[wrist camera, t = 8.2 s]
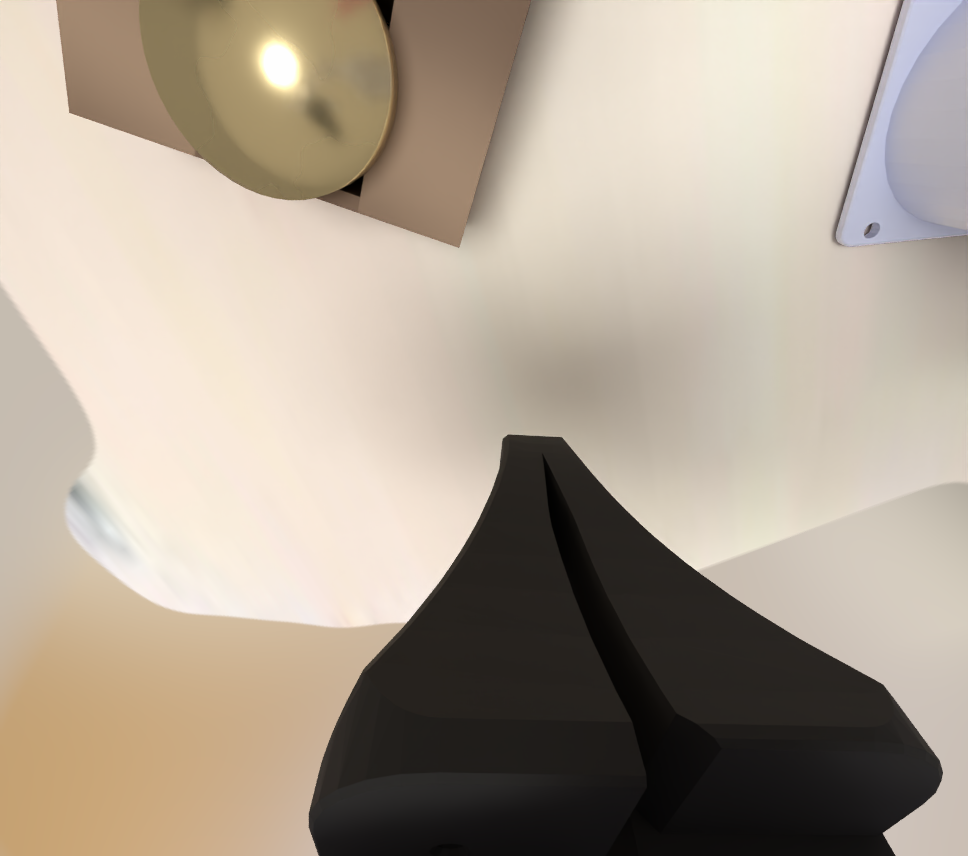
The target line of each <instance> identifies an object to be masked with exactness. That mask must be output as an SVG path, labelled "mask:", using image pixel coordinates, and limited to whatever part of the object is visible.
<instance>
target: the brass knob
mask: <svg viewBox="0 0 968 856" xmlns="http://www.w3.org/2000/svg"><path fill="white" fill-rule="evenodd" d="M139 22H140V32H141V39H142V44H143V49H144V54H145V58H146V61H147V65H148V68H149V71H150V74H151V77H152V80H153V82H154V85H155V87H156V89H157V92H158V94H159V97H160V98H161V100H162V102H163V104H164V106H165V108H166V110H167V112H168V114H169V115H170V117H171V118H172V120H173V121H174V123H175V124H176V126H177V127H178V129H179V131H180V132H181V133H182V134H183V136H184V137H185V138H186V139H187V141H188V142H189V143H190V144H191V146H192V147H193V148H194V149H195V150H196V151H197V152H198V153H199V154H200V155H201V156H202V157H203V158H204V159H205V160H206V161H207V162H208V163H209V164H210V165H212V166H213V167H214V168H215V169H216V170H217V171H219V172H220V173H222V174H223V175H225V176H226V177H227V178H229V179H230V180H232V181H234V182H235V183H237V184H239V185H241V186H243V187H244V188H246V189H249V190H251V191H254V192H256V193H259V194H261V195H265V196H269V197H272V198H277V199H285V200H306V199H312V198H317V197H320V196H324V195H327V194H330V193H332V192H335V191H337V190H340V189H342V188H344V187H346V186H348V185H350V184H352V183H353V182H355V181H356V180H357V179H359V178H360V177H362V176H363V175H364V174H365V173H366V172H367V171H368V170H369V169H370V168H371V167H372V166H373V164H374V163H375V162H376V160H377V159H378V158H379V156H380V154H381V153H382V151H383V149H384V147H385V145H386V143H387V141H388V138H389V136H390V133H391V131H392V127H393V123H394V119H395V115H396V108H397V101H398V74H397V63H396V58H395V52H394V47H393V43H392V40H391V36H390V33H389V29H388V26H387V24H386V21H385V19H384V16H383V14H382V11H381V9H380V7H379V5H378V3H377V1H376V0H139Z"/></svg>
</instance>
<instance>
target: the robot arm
mask: <svg viewBox="0 0 968 856" xmlns="http://www.w3.org/2000/svg"><path fill="white" fill-rule="evenodd" d="M871 223H872V228H871V230H870V232H869V233H867V234H866V235H864V231H865V229H866V227H867V226H868V225H870V224H871ZM962 235H968V0H904V2H903V5H902V8H901V12H900V15H899V19H898V22H897V26H896V29H895V32H894V36H893V39H892V43H891V46H890V50H889V53H888V56H887V60H886V63H885V67H884V70H883V73H882V77H881V80H880V84H879V87H878V91H877V94H876V97H875V101H874V104H873V108H872V111H871V115H870V118H869V121H868V125H867V128H866V132H865V135H864V139H863V142H862V145H861V149H860V152H859V156H858V159H857V163H856V166H855V169H854V173H853V176H852V180H851V183H850V186H849V190H848V193H847V197H846V200H845V204H844V207H843V210H842V214H841V217H840V221H839V224H838V228H837V231H836V239H837V242H838V243H840V244H841V245H845V246H851V247H853V246H863V245H873V244H883V243H893V242H903V241H913V240H923V239H933V238H943V237H952V236H962ZM942 775H943V771H942V767H941V764H940V761H939V759H938V758H937V756H936V755H935V754H934V752H933V751H932V750H931V748H930V747H929V746H928V744H927V743H926V742H925V740H924V739H923V737H922V736H921V735H920V734H919V732H918V731H917V729H916V728H915V727H914V725H913V724H912V723H911V721H910V720H909V718H908V717H907V716H906V714H905V713H904V712H903V710H902V709H901V708H900V706H899V705H898V704H897V702H896V701H895V700H894V698H893V697H892V696H891V694H890V693H889V692H888V690H887V689H886V688H885V687H884V685H883V684H881V683H879V682H877V681H876V680H874V679H872V678H870V677H868V676H867V675H865V674H863V673H861V672H859V671H857V670H855V669H854V668H852V667H850V666H848V665H846V664H845V663H843V662H841V661H839V660H837V659H835V658H833V657H832V656H830V655H828V654H826V653H824V652H822V651H821V650H819V649H817V648H815V647H813V646H811V645H810V644H808V643H806V642H804V641H803V640H801V639H799V638H797V637H796V636H794V635H792V634H791V633H789V632H787V631H786V630H784V629H783V628H781V627H779V626H778V625H776V624H774V623H773V622H771V621H770V620H768V619H766V618H765V617H763V616H761V615H760V614H758V613H757V612H755V611H754V610H752V609H750V608H749V607H747V606H746V605H744V604H743V603H741V602H740V601H738V600H737V599H735V598H734V597H732V596H731V595H729V594H728V593H727V592H725V591H724V590H722V589H721V588H719V587H718V586H717V585H715V584H714V583H713V582H711V581H710V580H708V579H707V578H705V577H704V576H703V575H701V574H700V573H699V572H697V571H696V570H695V569H693V568H692V567H691V566H689V565H688V564H687V563H685V562H684V561H683V560H682V559H680V558H679V557H678V556H677V555H676V554H674V553H673V552H672V551H671V550H670V549H668V548H667V547H666V546H665V545H664V544H662V543H661V542H660V541H659V540H658V539H656V538H655V537H654V536H653V535H652V534H651V533H650V532H648V531H647V530H646V529H645V528H644V527H643V526H642V525H641V524H640V523H639V522H638V521H637V520H636V519H635V518H634V517H633V516H631V515H630V514H629V513H628V512H627V511H626V510H625V509H624V508H623V507H622V506H621V505H620V504H619V503H618V502H617V501H616V500H615V498H614V497H613V496H612V495H611V494H610V493H609V492H608V491H607V490H606V489H605V488H604V487H603V485H602V484H601V483H600V482H599V481H598V480H597V479H596V478H595V476H594V475H593V474H592V473H591V472H590V471H589V469H588V468H587V467H586V466H585V465H584V463H583V462H582V461H581V460H580V459H579V457H578V456H577V455H576V454H575V453H574V451H573V450H572V449H571V448H570V446H569V445H568V444H567V443H566V442H565V441H564V439H563V438H562V437H545V436H525V435H507V436H506V437H504V438H503V441H502V450H501V460H500V469H499V472H498V475H497V477H496V480H495V483H494V486H493V489H492V491H491V494H490V496H489V498H488V500H487V503H486V505H485V507H484V509H483V511H482V514H481V516H480V518H479V520H478V522H477V524H476V525H475V527H474V529H473V531H472V533H471V535H470V536H469V538H468V540H467V541H466V543H465V545H464V547H463V548H462V550H461V551H460V553H459V554H458V556H457V557H456V559H455V560H454V562H453V563H452V565H451V566H450V568H449V570H448V571H447V572H446V574H445V575H444V577H443V578H442V579H441V581H440V582H439V584H438V585H437V586H436V588H435V589H434V590H433V591H432V593H431V594H430V595H429V596H428V598H427V599H426V600H425V601H424V603H423V604H422V605H421V606H420V608H419V609H418V610H417V611H416V612H415V614H414V615H413V616H412V617H411V619H410V620H409V621H408V622H407V623H406V624H405V626H404V627H403V628H402V629H401V630H400V631H399V632H398V633H397V634H396V635H395V636H394V638H393V639H392V640H391V641H390V642H389V643H388V644H387V645H386V646H385V647H384V648H383V649H382V650H381V651H380V652H379V654H378V655H377V656H376V657H375V658H374V659H373V660H372V661H371V662H370V663H369V664H368V665H367V666H366V667H365V669H364V670H363V672H362V673H361V675H360V677H359V679H358V681H357V683H356V685H355V687H354V688H353V690H352V692H351V694H350V696H349V698H348V700H347V702H346V704H345V706H344V708H343V710H342V713H341V715H340V717H339V719H338V721H337V723H336V726H335V728H334V730H333V733H332V735H331V738H330V740H329V743H328V746H327V749H326V752H325V754H324V757H323V760H322V763H321V767H320V771H319V775H318V779H317V783H316V787H315V791H314V795H313V799H312V803H311V807H310V811H309V829H310V832H311V835H312V837H313V840H314V843H315V846H316V849H317V852H318V855H319V856H895V854H894V852H893V851H892V849H891V847H890V846H889V844H888V842H887V840H886V839H885V837H884V835H883V832H885V831H886V830H887V829H889V828H890V827H892V826H893V825H894V824H896V823H897V822H899V821H900V820H901V819H903V818H904V817H906V816H907V815H909V814H910V813H911V812H913V811H914V810H916V809H917V808H919V807H920V806H921V805H923V804H924V803H925V802H926V801H927V800H928V799H929V798H930V797H932V795H934V794H935V793H936V791H937V789H938V787H939V785H940V782H941V779H942Z"/></svg>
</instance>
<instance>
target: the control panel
mask: <svg viewBox="0 0 968 856" xmlns="http://www.w3.org/2000/svg"><path fill="white" fill-rule="evenodd" d="M376 1H377V3H378V5H379V7H380V9H381V11H382V14H383V16H384V19H385V20H388V21H390V28H389V33H390V36H391V40H392V43H393V47H394V52H395V58H396V63H397V74H398V101H397V108H396V115H395V119H394V123H393V127H392V131H391V133H390V136H389V138H388V141H387V143H386V145H385V147H384V149H383V151H382V153H381V154H380V156H379V158H378V159H377V160H376V162H375V163H374V164H373V166H372V167H371V168H370V169H369V170H368V171H367V172H366V173H365V174H364V176H362V177H360V178H359V179H357V180H356V181H355V182H353V183H352V184H350V185H348V186H346V187H344V188H342V189H340V190H337V191H335V192H332V193H330V194H327V195H324V196H320V197H317V199H320V200H323V201H326V202H329V203H331V204H334V205H337V206H340V207H343V208H346V209H349V210H352V211H355V212H357V213H360V214H363V215H366V216H369V217H372V218H375V219H378V220H380V221H383V222H386V223H389V224H392V225H395V226H398V227H401V228H404V229H406V230H409V231H412V232H415V233H418V234H421V235H424V236H427V237H430V238H432V239H435V240H438V241H441V242H444V243H447V244H450V245H453V246H456V247H458V248H459V247H460V243H461V240H462V236H463V233H464V229H465V226H466V223H467V219H468V216H469V212H470V209H471V205H472V202H473V198H474V195H475V192H476V188H477V185H478V181H479V178H480V174H481V171H482V168H483V164H484V161H485V157H486V154H487V150H488V147H489V143H490V140H491V137H492V133H493V130H494V126H495V123H496V119H497V116H498V112H499V109H500V106H501V102H502V99H503V95H504V92H505V88H506V85H507V81H508V78H509V75H510V71H511V68H512V64H513V61H514V57H515V54H516V51H517V47H518V44H519V40H520V37H521V33H522V30H523V26H524V23H525V20H526V16H527V13H528V9H529V6H530V2H531V0H376ZM56 3H57V11H58V20H59V28H60V37H61V45H62V54H63V62H64V71H65V79H66V88H67V96H68V105H69V113H72V114H75V115H77V116H80V117H83V118H86V119H89V120H92V121H95V122H98V123H101V124H103V125H106V126H109V127H112V128H115V129H118V130H121V131H124V132H127V133H129V134H132V135H135V136H138V137H141V138H144V139H147V140H150V141H153V142H155V143H158V144H161V145H164V146H167V147H170V148H173V149H176V150H178V151H181V152H184V153H187V154H190V155H193V156H196V157H199V158H202V159H204V158H203V157H202V156H201V155H200V154H199V153H198V152H197V151H196V150H195V149H194V148H193V147H192V146H191V144H190V143H189V142H188V141H187V139H186V138H185V137H184V136H183V134H182V133H181V132H180V131H179V129H178V127H177V126H176V124H175V123H174V121H173V120H172V118H171V117H170V115H169V114H168V112H167V110H166V108H165V106H164V104H163V102H162V100H161V98H160V97H159V94H158V92H157V89H156V87H155V85H154V82H153V80H152V77H151V74H150V71H149V68H148V65H147V61H146V58H145V54H144V49H143V44H142V39H141V32H140V22H139V0H56ZM204 160H205V159H204Z"/></svg>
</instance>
